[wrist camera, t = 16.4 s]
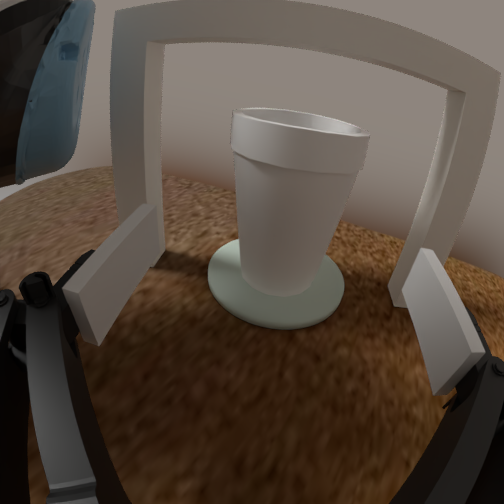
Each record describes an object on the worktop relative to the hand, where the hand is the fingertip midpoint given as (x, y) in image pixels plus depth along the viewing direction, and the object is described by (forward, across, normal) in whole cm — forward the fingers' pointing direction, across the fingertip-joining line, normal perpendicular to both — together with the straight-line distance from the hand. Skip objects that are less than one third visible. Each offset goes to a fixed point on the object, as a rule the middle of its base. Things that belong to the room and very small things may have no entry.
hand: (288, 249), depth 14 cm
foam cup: (+9, 0, -8) cm, 12 cm away
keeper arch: (+9, 0, -9) cm, 13 cm away
